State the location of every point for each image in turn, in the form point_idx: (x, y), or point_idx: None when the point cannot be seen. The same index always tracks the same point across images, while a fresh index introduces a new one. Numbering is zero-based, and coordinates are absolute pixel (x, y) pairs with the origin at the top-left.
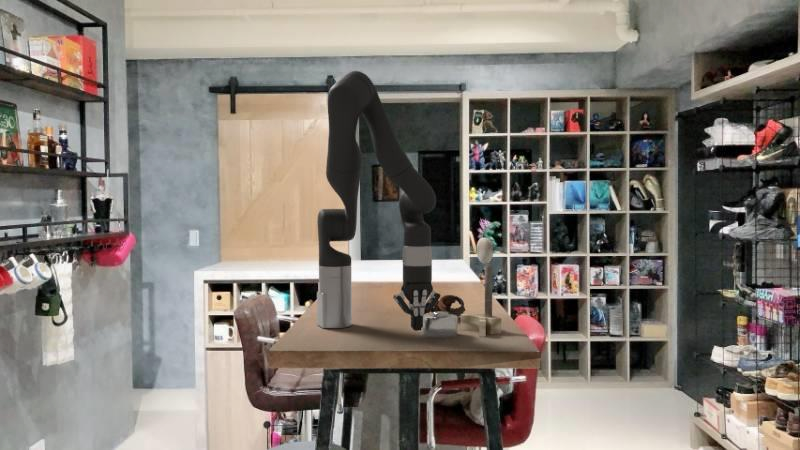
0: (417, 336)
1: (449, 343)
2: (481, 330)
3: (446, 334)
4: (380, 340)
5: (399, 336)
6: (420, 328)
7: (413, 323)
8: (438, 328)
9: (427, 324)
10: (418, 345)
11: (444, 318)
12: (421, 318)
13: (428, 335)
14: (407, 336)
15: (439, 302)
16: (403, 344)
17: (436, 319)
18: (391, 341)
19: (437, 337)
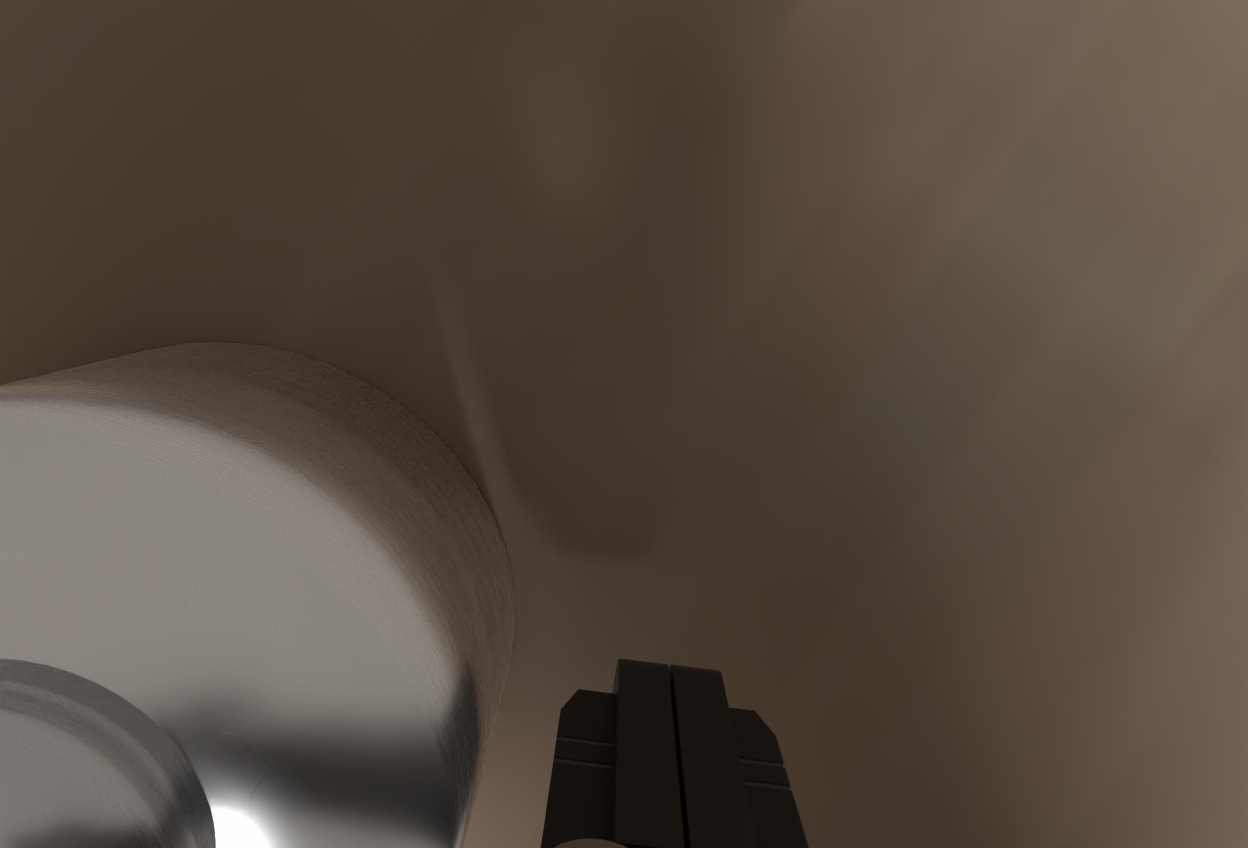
0: None
1: (419, 13)
2: None
3: (250, 363)
4: (1196, 751)
5: (819, 831)
6: (633, 668)
7: (780, 776)
8: (348, 457)
9: (472, 691)
10: (956, 170)
11: (44, 568)
12: (585, 828)
13: (501, 568)
14: None
15: None
16: (1103, 361)
17: (308, 556)
18: (1114, 624)
19: (415, 424)
